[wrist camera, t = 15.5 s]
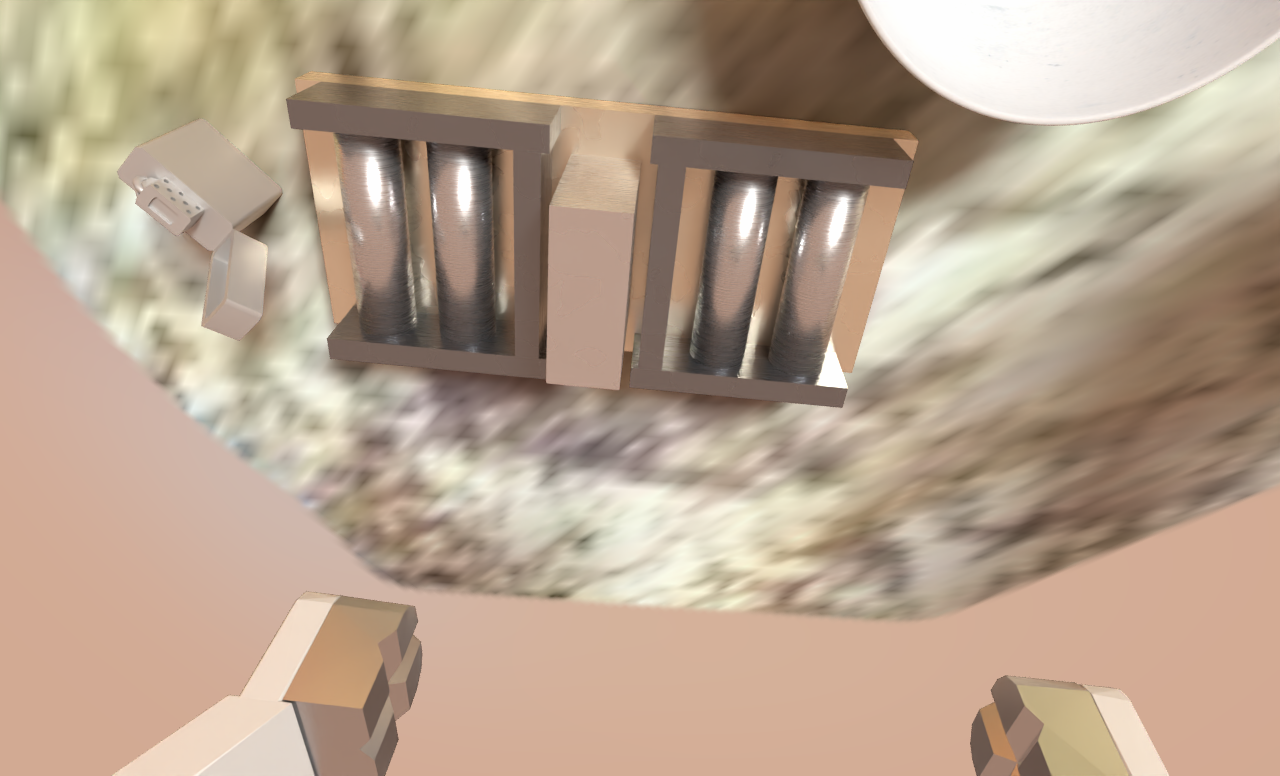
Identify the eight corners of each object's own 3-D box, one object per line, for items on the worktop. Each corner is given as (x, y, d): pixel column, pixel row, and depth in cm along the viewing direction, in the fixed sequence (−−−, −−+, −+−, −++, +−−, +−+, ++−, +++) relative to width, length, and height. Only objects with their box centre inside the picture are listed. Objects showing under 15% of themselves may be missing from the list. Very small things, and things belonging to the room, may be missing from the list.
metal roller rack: (908, 130, 30) (942, 164, 26) (845, 356, 35) (865, 409, 32) (311, 71, 29) (257, 96, 26) (346, 308, 35) (306, 356, 31)
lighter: (179, 143, 31) (43, 208, 25) (200, 115, 31) (67, 175, 24) (317, 263, 34) (229, 351, 27) (339, 240, 33) (254, 324, 27)
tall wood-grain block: (641, 160, 29) (634, 213, 24) (628, 316, 33) (619, 390, 28) (571, 153, 29) (549, 205, 24) (566, 310, 33) (546, 383, 28)
